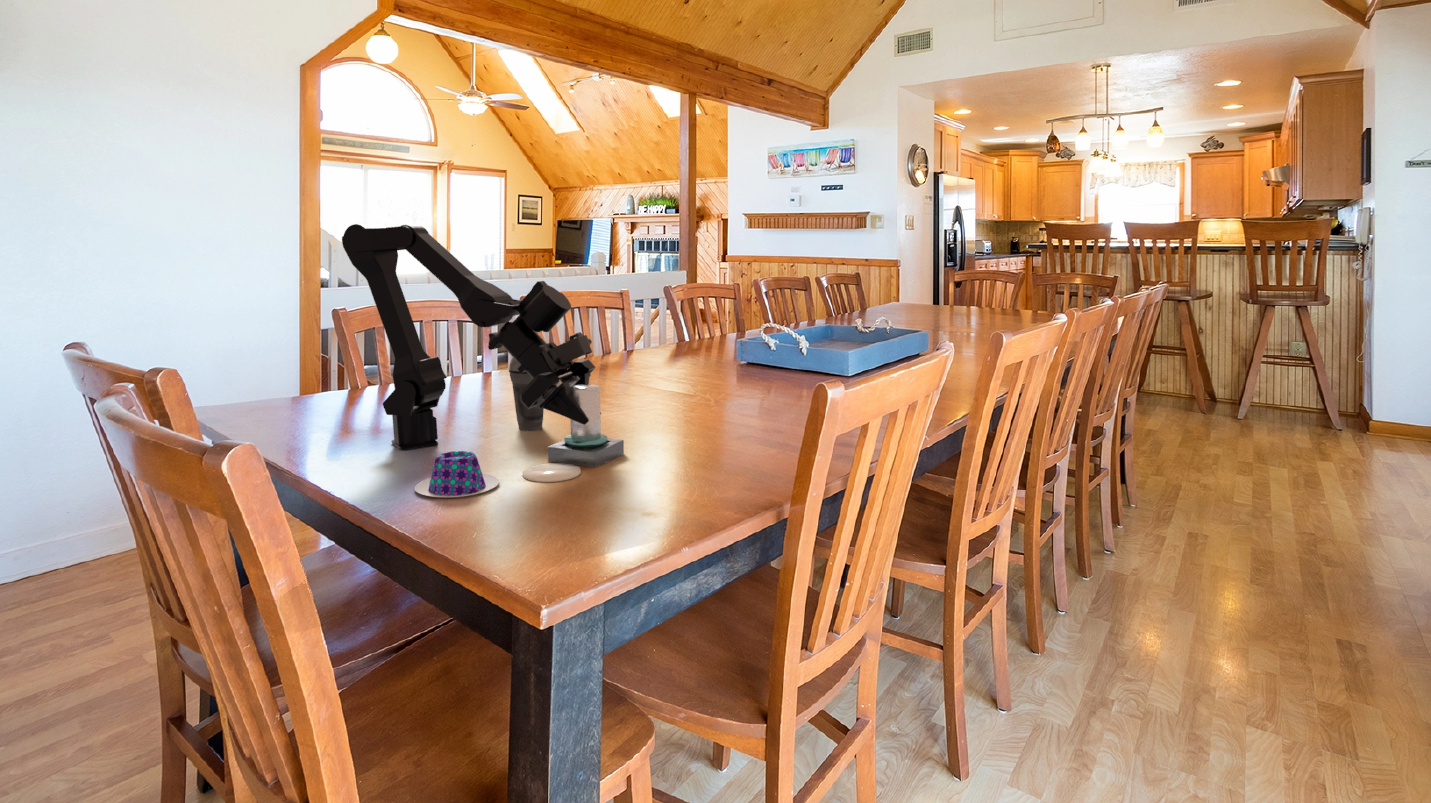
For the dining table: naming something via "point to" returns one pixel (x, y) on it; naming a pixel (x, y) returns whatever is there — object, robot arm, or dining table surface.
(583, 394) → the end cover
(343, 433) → the dining table surface
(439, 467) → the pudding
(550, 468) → the coaster
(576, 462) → the box
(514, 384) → the beverage cup
